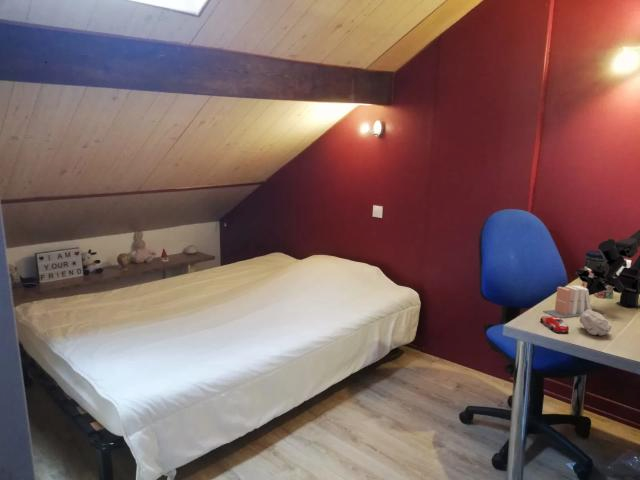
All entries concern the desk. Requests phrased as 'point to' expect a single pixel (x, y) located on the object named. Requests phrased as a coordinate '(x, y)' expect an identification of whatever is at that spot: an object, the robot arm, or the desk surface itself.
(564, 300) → the domino
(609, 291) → the stack of blocks
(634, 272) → the robot arm
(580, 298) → the domino
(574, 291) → the domino
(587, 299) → the domino
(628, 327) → the desk surface
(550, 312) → the domino mat
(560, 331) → the race car
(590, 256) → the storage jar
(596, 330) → the fossil replica
